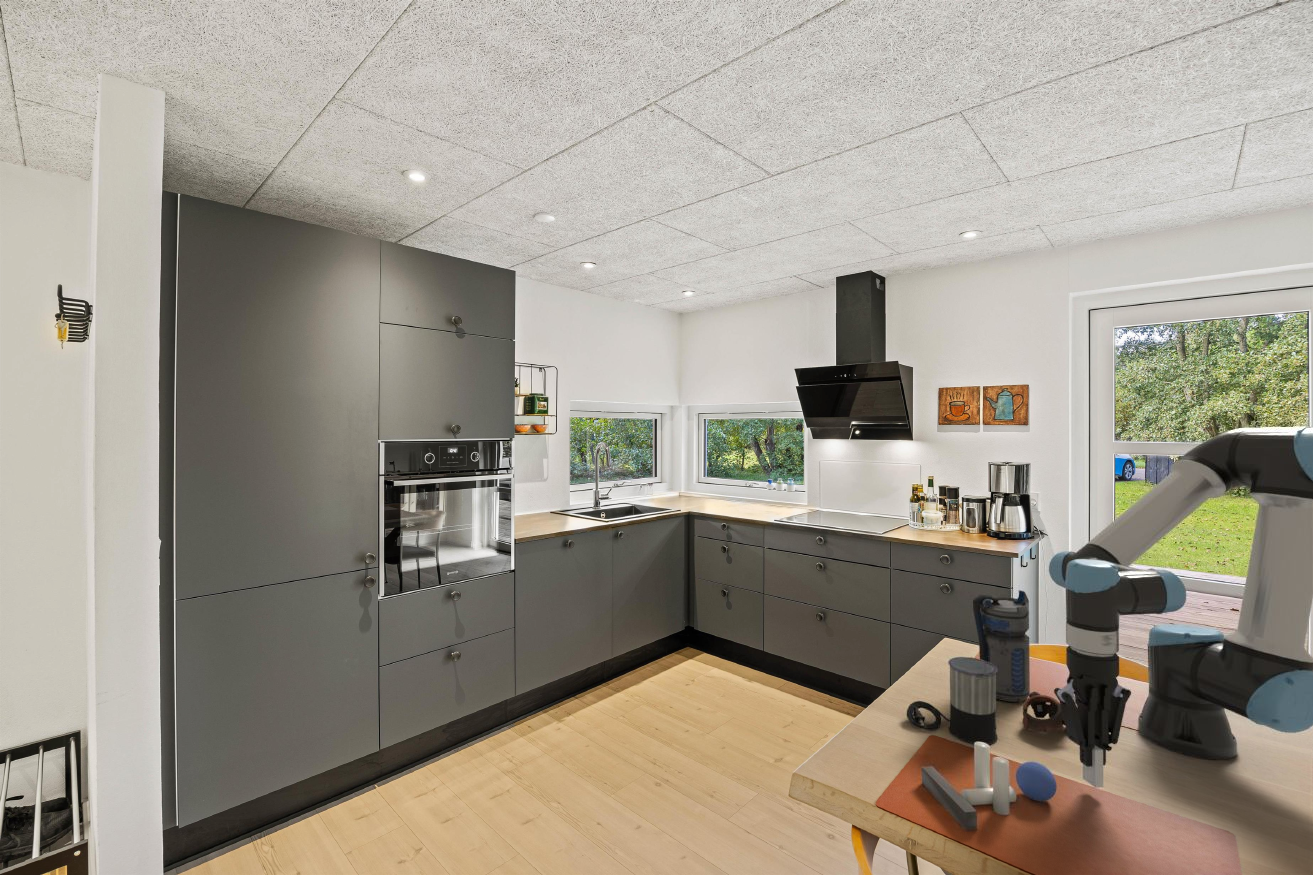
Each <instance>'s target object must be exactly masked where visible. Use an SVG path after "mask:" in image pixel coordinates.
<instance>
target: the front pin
mask: <svg viewBox="0 0 1313 875" xmlns="http://www.w3.org/2000/svg"><path fill="white" fill-rule="evenodd" d="M960 791H961V792H960V795H961V796H962V797H963V798H964V799H965V800H966V801H967V802H968V803H969V804H970V805H971V806H972V807H973V806H983V805H993V786H992V787H991V786H990V788H977V789H975V788H968V789H966V788H965V789H964V788H963V789H961V790H960ZM1016 801H1017V794H1016V791H1015V790H1014V788H1013V787H1012V786H1011V785H1009V804H1010V803H1015V802H1016Z"/></svg>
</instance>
